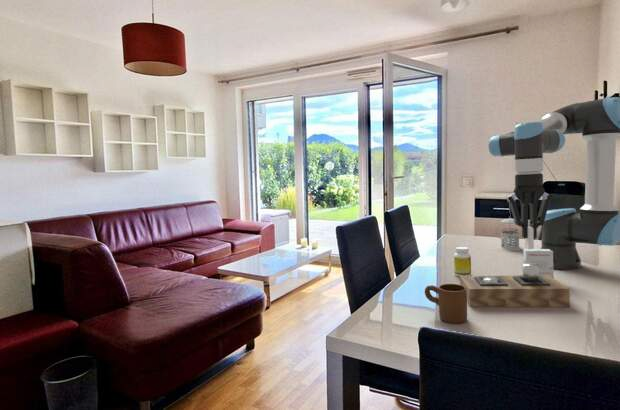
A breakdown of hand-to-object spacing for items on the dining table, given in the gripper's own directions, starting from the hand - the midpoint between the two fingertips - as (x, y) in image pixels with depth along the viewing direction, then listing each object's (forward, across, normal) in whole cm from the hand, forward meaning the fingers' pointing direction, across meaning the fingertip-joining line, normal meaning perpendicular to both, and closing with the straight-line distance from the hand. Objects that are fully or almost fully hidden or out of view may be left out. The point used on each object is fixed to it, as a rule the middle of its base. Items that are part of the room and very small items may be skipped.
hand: (529, 247), depth 117 cm
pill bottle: (+17, +15, -27) cm, 35 cm away
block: (+17, +6, 0) cm, 18 cm away
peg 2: (+12, 0, 0) cm, 12 cm away
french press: (+17, -16, -72) cm, 76 cm away
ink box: (+17, -9, -18) cm, 26 cm away
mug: (+17, +28, +16) cm, 37 cm away
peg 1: (+16, +12, 0) cm, 20 cm away
